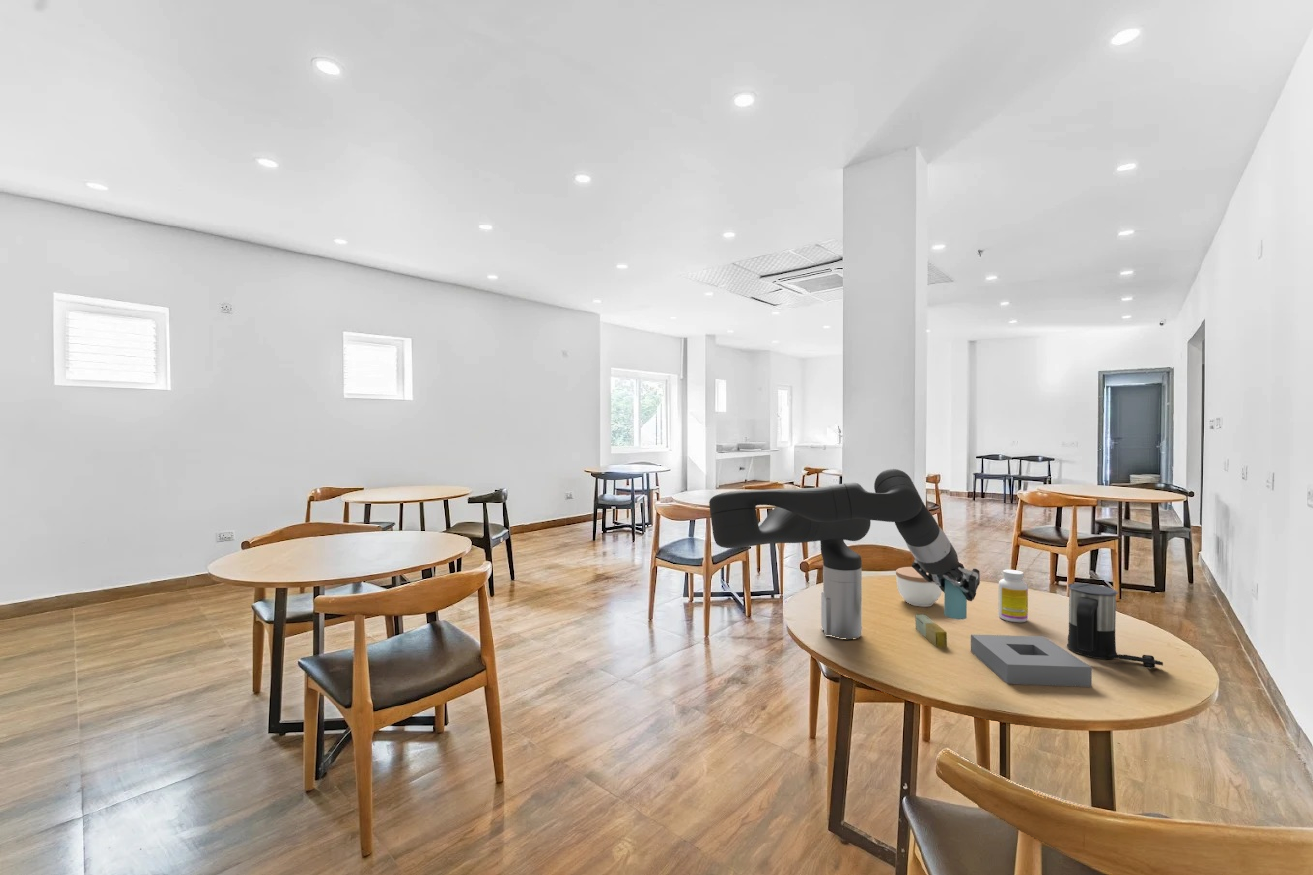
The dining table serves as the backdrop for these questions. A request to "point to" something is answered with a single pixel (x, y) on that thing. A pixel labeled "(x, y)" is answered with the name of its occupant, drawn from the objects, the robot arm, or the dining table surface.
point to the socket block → (1030, 660)
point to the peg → (954, 602)
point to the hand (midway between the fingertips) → (960, 594)
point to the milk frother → (1096, 623)
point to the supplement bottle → (1013, 597)
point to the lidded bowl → (916, 587)
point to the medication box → (931, 630)
